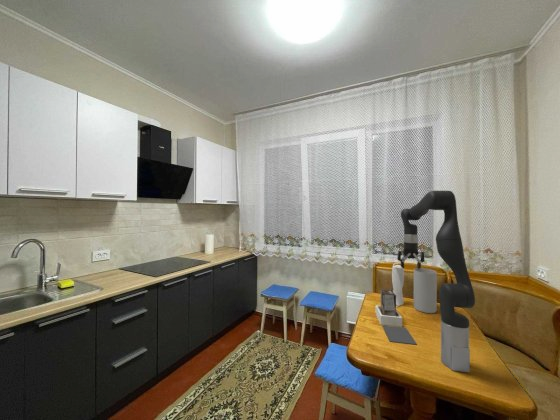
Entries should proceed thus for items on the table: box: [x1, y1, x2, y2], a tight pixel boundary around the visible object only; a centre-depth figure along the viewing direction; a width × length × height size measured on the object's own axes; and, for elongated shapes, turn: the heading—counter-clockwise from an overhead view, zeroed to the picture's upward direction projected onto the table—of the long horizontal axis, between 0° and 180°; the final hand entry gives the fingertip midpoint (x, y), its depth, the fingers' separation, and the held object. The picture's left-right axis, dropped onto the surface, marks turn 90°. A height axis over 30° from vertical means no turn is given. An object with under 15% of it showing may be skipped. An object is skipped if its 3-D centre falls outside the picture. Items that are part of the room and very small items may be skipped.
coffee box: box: [380, 289, 397, 316], centre depth 131 cm, size 9×6×16 cm
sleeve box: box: [374, 304, 403, 328], centre depth 131 cm, size 14×11×5 cm
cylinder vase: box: [413, 267, 438, 314], centre depth 145 cm, size 12×12×25 cm
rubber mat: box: [381, 325, 418, 346], centre depth 115 cm, size 15×12×1 cm
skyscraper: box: [388, 261, 405, 307], centre depth 153 cm, size 8×8×28 cm
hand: (410, 268), depth 136 cm, fingers open, 8 cm apart
